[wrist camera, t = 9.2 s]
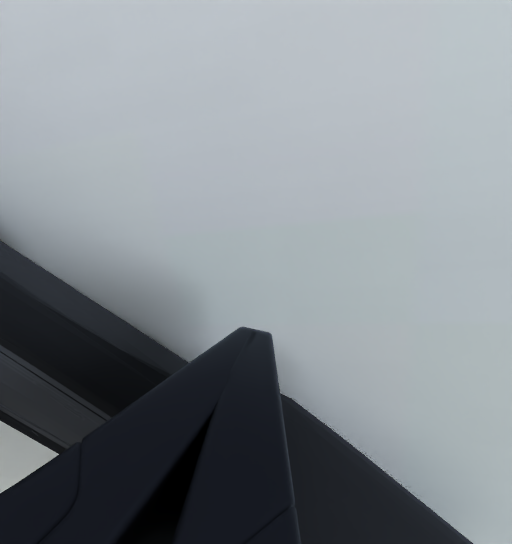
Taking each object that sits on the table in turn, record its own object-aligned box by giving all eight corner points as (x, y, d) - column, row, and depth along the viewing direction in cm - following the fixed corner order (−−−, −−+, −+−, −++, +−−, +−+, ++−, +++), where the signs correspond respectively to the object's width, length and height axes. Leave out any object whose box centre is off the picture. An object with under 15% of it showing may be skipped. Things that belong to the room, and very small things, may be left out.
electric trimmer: (416, 564, 12) (430, 721, 9) (-83, 268, 10) (-240, 354, 8) (531, 517, 10) (591, 702, 7) (-72, 139, 8) (-283, 195, 6)
